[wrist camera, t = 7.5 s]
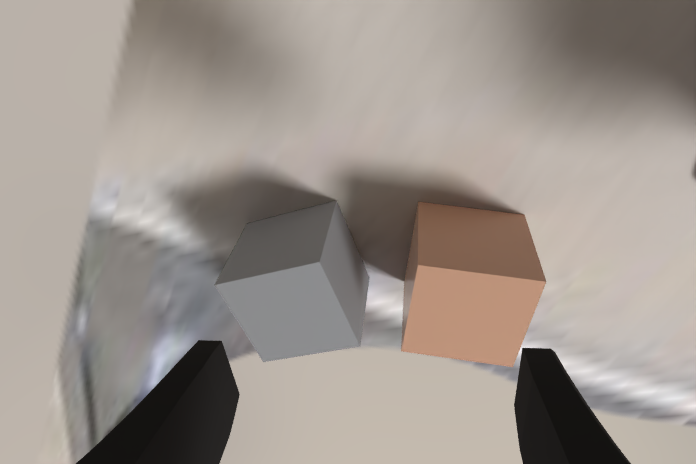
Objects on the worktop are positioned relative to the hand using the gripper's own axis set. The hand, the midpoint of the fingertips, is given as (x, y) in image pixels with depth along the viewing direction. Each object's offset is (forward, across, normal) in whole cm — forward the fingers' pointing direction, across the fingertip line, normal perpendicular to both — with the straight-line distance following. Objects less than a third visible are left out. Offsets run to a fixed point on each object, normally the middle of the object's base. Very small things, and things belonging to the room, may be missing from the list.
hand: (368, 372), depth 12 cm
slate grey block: (+10, +4, +4) cm, 12 cm away
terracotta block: (+10, -3, +4) cm, 12 cm away
